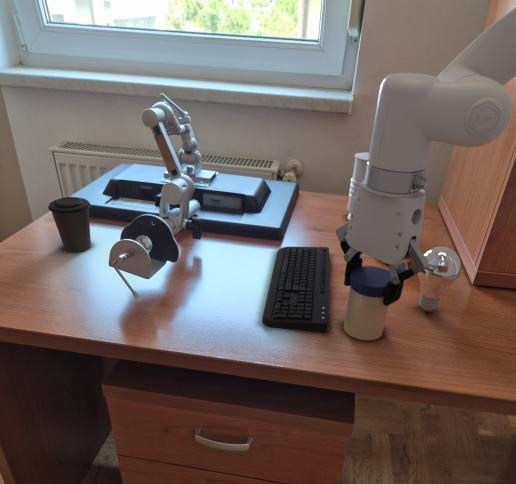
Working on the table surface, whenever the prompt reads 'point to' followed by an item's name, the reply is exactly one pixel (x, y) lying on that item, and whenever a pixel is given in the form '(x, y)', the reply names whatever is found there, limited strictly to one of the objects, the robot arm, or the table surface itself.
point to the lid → (370, 280)
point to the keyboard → (299, 290)
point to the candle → (357, 178)
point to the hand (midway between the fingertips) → (370, 291)
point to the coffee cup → (72, 222)
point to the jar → (365, 316)
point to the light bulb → (438, 275)
